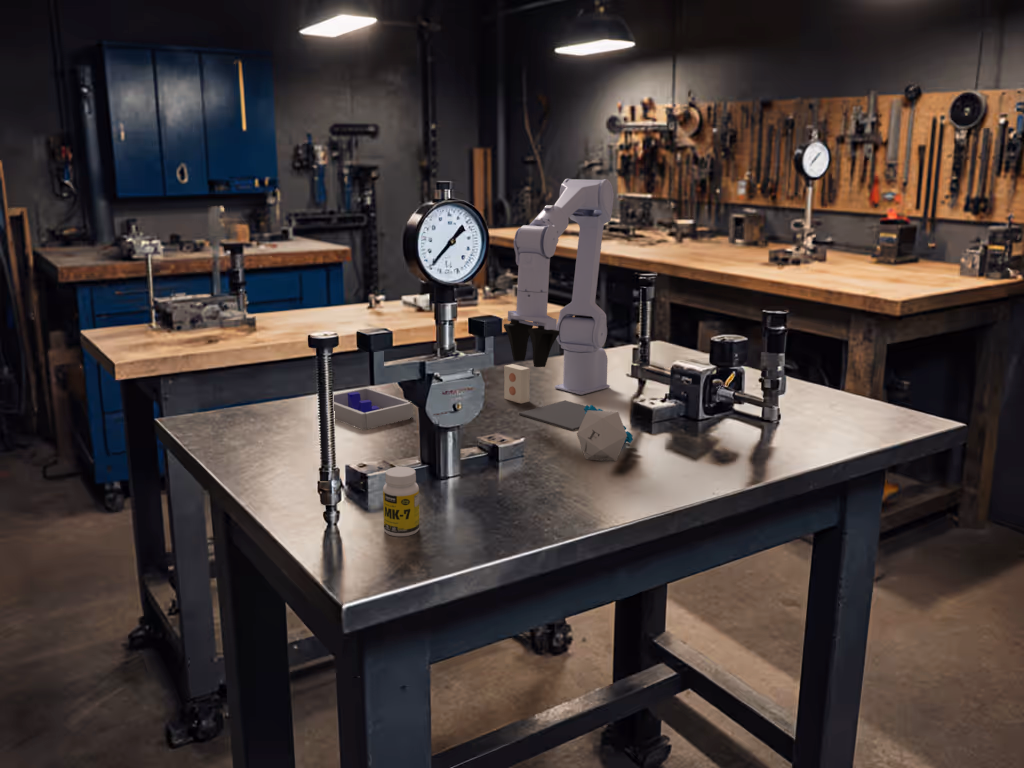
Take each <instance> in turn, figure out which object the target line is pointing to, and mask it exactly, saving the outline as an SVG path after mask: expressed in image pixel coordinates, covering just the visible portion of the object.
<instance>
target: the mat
mask: <svg viewBox="0 0 1024 768" xmlns="http://www.w3.org/2000/svg"><path fill="white" fill-rule="evenodd" d="M585 407H586V405H583V404H580V403H576V402H572V401H570V400H562V401H558V402H554V403H550V404H546V405H543V406H539V407H535V408H532V409H527V410H524V411H520V412H519V413H518V414H519V416H522V417H526V418H529V419H532V420H536V421H539V422H541V423H545V424H549V425H552V426H555V427H558V428H561V429H565V430H569V431H571V432H572V431H573V432H574V431H576V430H577V431H578V430H579V428H580V426H581V423H582V421H583V419H584V417H585V415H586V414H585V412H586V411H585V410H584V408H585ZM596 409H597V410H598V409H599V408H596Z"/></svg>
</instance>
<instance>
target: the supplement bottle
mask: <svg viewBox="0 0 1024 768" xmlns="http://www.w3.org/2000/svg"><path fill="white" fill-rule="evenodd" d="M384 474H385V479H384V480H385V484H384V485H383V487H382V498H383V499H382V504H383V506H382V508H383V510H382V511H383V530H384V532H385V533H386V534H387V535H390V536H392V537H409V536H412V535H414V534H416V533H417V532H419V530H420V488H419V487H420V486H419V485H418V483H417V475H416V474H417V473H416V470H415V468H412V467H410V466H395V467H394V466H393V467H391V468H388V469H387V470H386V471H385V473H384Z"/></svg>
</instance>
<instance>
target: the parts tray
mask: <svg viewBox="0 0 1024 768" xmlns="http://www.w3.org/2000/svg"><path fill="white" fill-rule="evenodd" d="M351 392H359V393H360V398H361V401H363V400H370V401H372V406H377V407H379V410H374V411H370V412H366V413H363V412H361V411H358V410H355V409H352V408H350V407H348V393H351ZM333 394H334V411H335V420H336V419H337V421H339V422H341V423H345V424H346V425H349V426H352V427H354V426H355V427H354V428H356V427H357V429H359V428H360V429H359V430H362V431H363V429H364V430H370V428H371V429H375V428H379V427H383V426H387V425H390V424H389V423H391V424H394V422H395V423H398V421H399V422H403V421H406V420H410V418H411V417H412V418H414V409H413V408H414V405H413V404H414V403H413V404H411V403H410V402H411V401H410V402H408V401H409V400H408V399H404V398H400V397H399V396H398V397H397V396H395V395H392V394H390V393H386V392H383V391H380V390H377V389H373V388H372V387H371V388H370V387H362V388H356V389H353V390H348V391H343V392H337V393H333ZM382 408H383V409H382ZM412 418H411V419H412ZM402 420H403V421H402ZM386 424H387V425H386ZM382 425H383V426H382ZM378 426H379V427H378ZM374 427H375V428H374Z"/></svg>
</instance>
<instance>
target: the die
mask: <svg viewBox="0 0 1024 768" xmlns="http://www.w3.org/2000/svg"><path fill="white" fill-rule="evenodd" d="M623 425H624V424H623V421H622V418H621V415H620V413H619V411H616V410H615V411H613V410H603V411H592V410H588V411H587V413H586V415H585V417H584V419H583V421H582V423H581V426H580V428H579V429H577V432H576V435H577V438H578V441H579V443H580V445H579V446H580V447H581V450H582V453H583V455H584V459H585V460H588V461H589V460H591V461H611V462H617V460H618V459H619V456H620V453H621V451H622V448H623V446H624V444H625V443H624V442H625V440H626V437H627V434H626V432H627V431H626V430H625V429H624V426H625V425H624V426H623Z"/></svg>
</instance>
